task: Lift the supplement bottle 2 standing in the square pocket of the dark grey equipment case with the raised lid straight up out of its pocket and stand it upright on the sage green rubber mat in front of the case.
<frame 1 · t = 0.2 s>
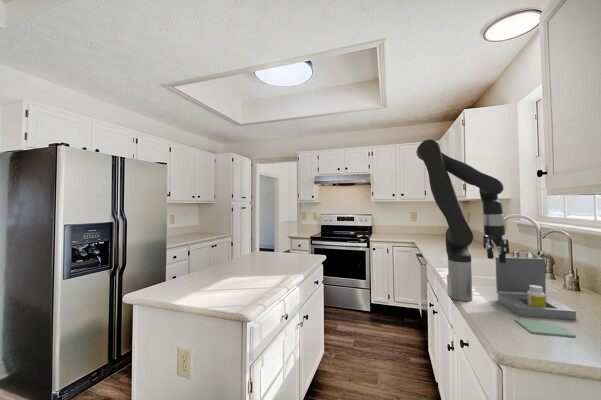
hand: (496, 260, 114), 18 cm above the countertop, tool pointing down, fingers open, 8 cm apart
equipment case: (533, 308, 105), on the countertop
supplement bottle: (528, 292, 124), on the countertop
supplement bottle 2: (536, 311, 103), resting in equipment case
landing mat: (542, 327, 89), on the countertop
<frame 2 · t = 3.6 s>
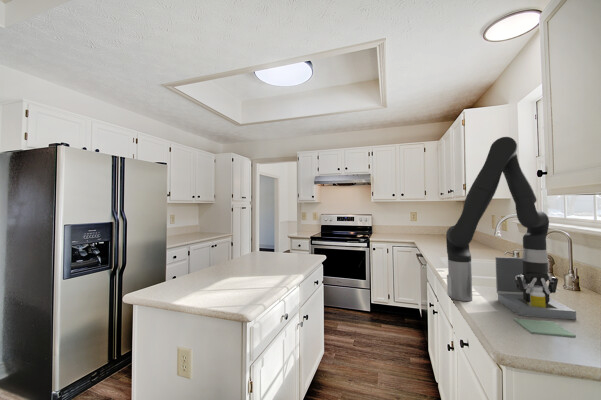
hand: (536, 302, 103), 3 cm above the countertop, tool pointing down, fingers closed on supplement bottle 2, 5 cm apart
supplement bottle 2: (536, 311, 103), resting in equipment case, touching gripper
everything else where it was.
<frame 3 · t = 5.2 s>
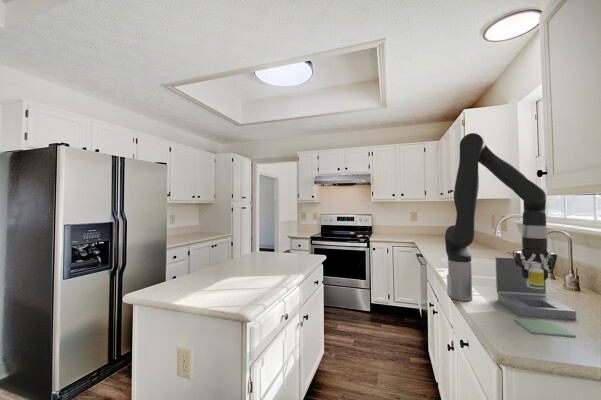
hand: (534, 278, 103), 13 cm above the countertop, tool pointing down, fingers closed on supplement bottle 2, 5 cm apart
supplement bottle 2: (534, 287, 103), point 9 cm above the countertop, touching gripper
everything else where it was.
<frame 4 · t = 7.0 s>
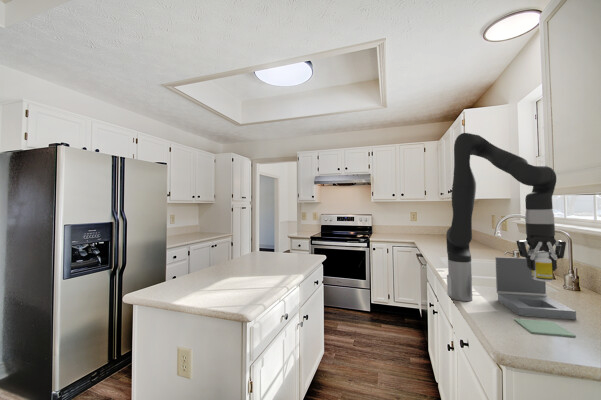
hand: (541, 269, 91), 20 cm above the countertop, tool pointing down, fingers closed on supplement bottle 2, 5 cm apart
supplement bottle 2: (542, 280, 91), point 16 cm above the countertop, touching gripper
everything else where it was.
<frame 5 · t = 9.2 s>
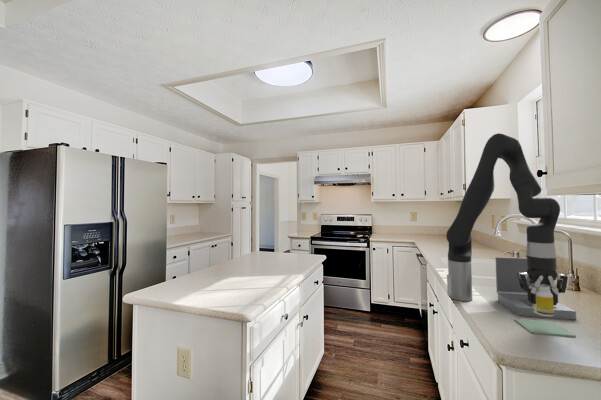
hand: (542, 303, 89), 8 cm above the countertop, tool pointing down, fingers closed on supplement bottle 2, 5 cm apart
supplement bottle 2: (543, 314, 89), point 5 cm above the countertop, touching gripper
everything else where it was.
when the fingers open (5 cm above the countertop, at t = 10.8 s): supplement bottle 2 drops 1 cm, resting on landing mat.
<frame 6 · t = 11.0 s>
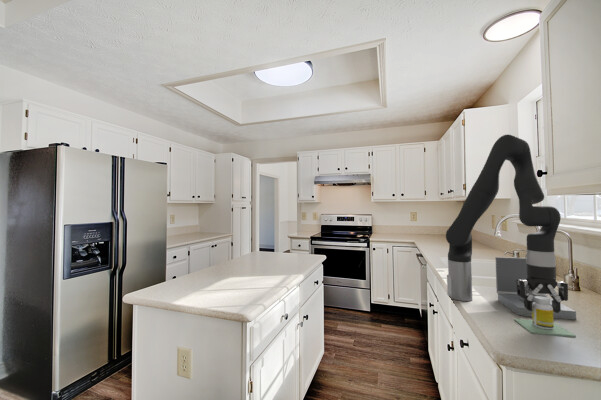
hand: (542, 311, 89), 6 cm above the countertop, tool pointing down, fingers open, 7 cm apart
supplement bottle 2: (542, 326, 89), resting on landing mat
everything else where it was.
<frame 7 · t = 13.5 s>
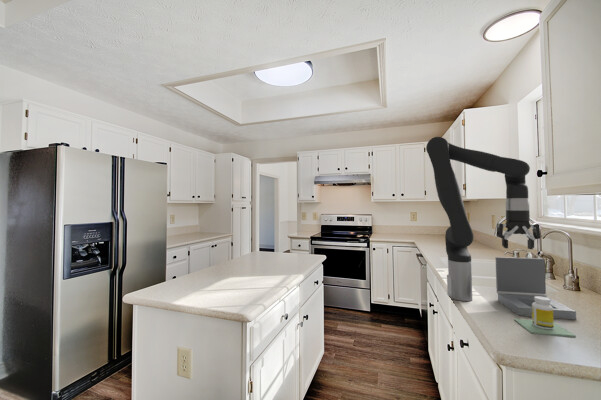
hand: (517, 248, 106), 25 cm above the countertop, tool pointing down, fingers open, 8 cm apart
nothing on the countertop moved.
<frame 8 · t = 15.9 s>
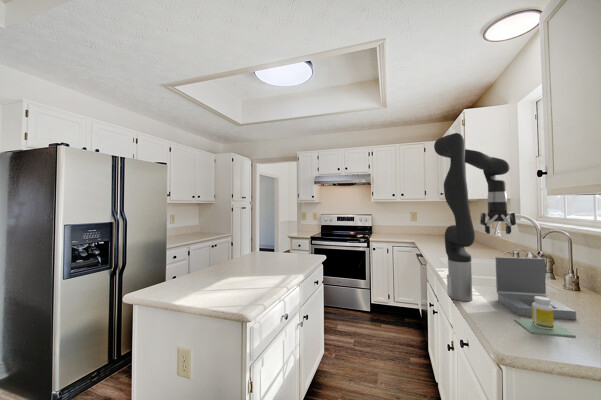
hand: (498, 233, 127), 28 cm above the countertop, tool pointing down, fingers open, 8 cm apart
nothing on the countertop moved.
at the end: supplement bottle 2 inside the target area (0.1 cm from its centre), resting on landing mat; supplement bottle 2 tilted 0°; the gripper is holding nothing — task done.
